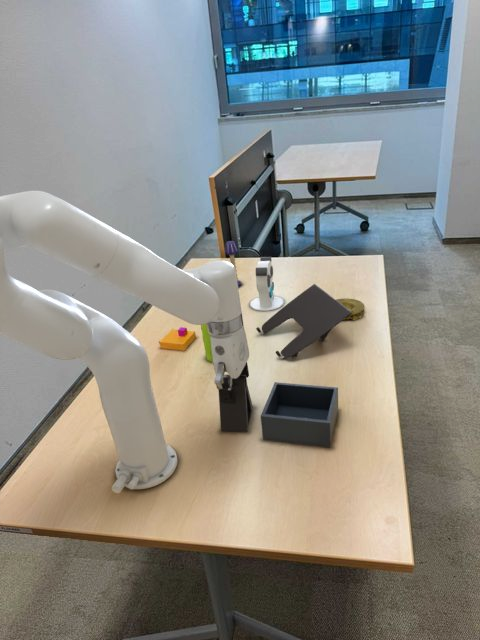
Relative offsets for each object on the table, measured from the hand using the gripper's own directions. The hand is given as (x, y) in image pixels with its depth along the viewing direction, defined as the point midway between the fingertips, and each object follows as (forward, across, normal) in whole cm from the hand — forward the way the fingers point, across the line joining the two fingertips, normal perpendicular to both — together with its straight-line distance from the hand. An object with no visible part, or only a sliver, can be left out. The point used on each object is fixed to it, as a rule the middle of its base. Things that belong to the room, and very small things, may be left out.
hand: (235, 389), depth 106 cm
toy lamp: (+10, +75, +26) cm, 80 cm away
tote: (+8, 0, -14) cm, 17 cm away
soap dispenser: (+9, +25, +15) cm, 31 cm away
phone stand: (+8, -1, +1) cm, 8 cm away
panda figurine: (+10, +60, +10) cm, 62 cm away
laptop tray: (+9, +38, -6) cm, 40 cm away
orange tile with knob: (+9, +31, +30) cm, 44 cm away
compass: (+10, +56, -17) cm, 60 cm away
